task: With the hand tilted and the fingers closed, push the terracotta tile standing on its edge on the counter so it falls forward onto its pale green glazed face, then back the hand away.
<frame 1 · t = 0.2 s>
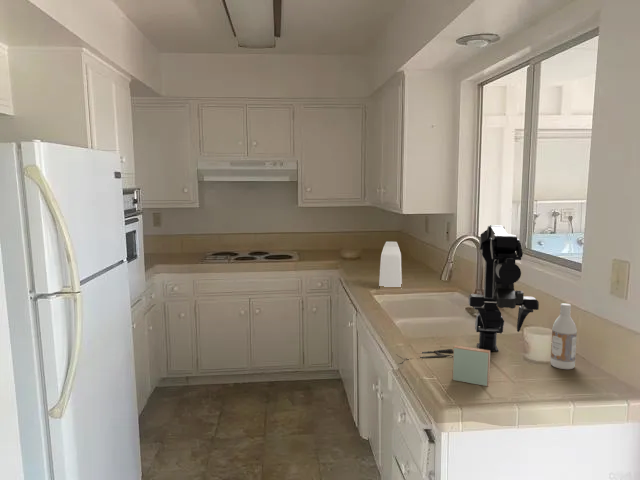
hand: (501, 330, 144), 15 cm above the worktop, tool pointing down, fingers open, 9 cm apart
tile: (470, 381, 143), on the worktop
milk: (390, 288, 275), on the worktop
bath foam: (562, 366, 156), on the worktop
hacksaw: (424, 359, 163), on the worktop
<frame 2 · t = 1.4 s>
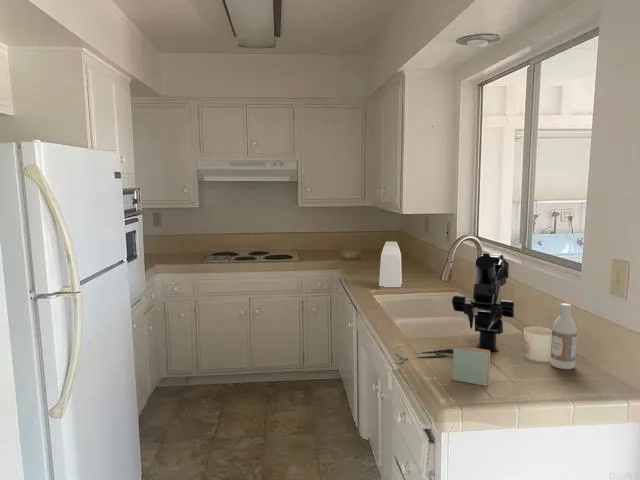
hand: (479, 329, 152), 13 cm above the worktop, tool tilted 45°, fingers open, 5 cm apart
nothing on the worktop moved.
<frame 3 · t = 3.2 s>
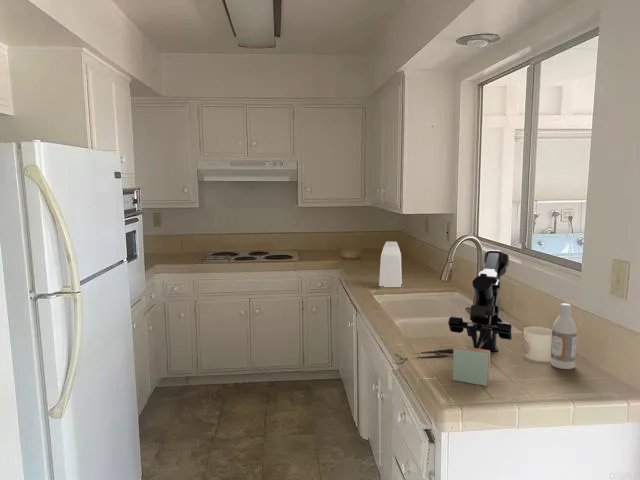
hand: (475, 351, 149), 7 cm above the worktop, tool tilted 45°, fingers closed
nothing on the worktop moved.
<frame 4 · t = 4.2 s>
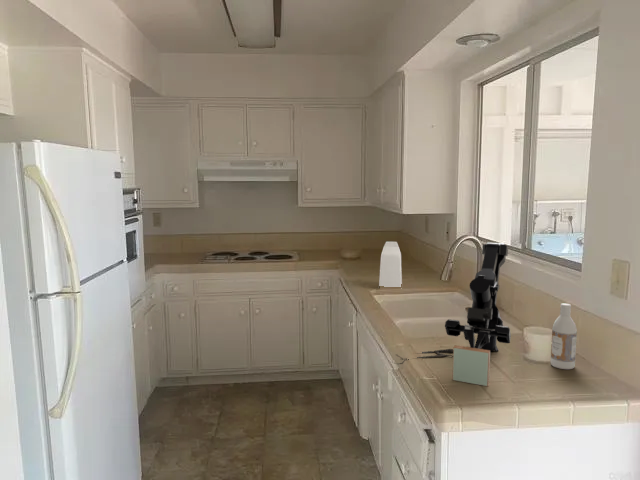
hand: (473, 355, 145), 7 cm above the worktop, tool tilted 45°, fingers closed
nothing on the worktop moved.
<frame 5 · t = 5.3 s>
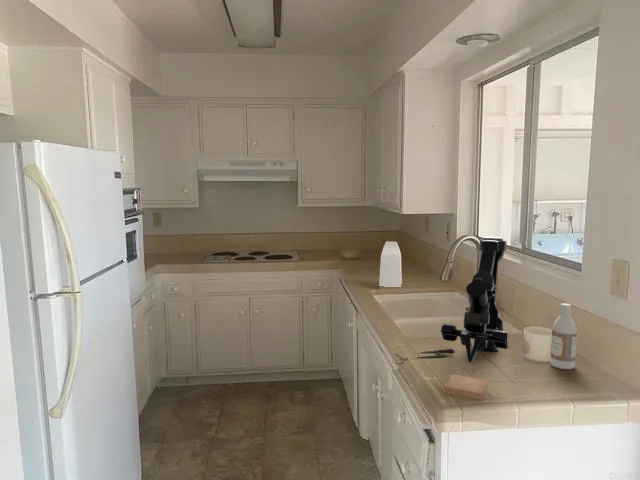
hand: (469, 361, 140), 7 cm above the worktop, tool tilted 45°, fingers closed
tile: (469, 380, 142), point 1 cm above the worktop, tilted 90°
everything else where it was.
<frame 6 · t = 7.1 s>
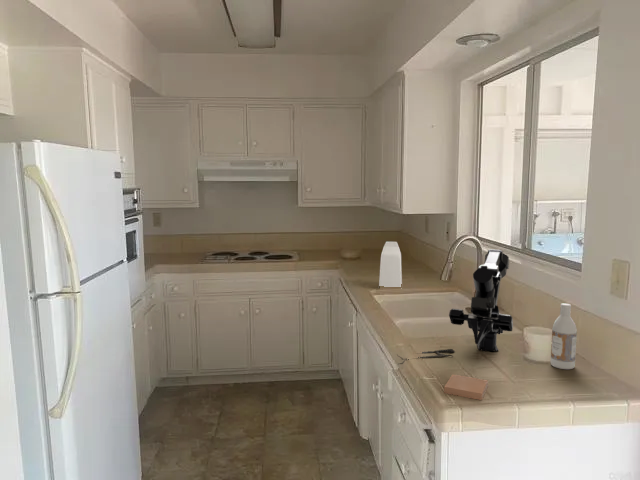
hand: (476, 343, 149), 9 cm above the worktop, tool tilted 45°, fingers closed
nothing on the worktop moved.
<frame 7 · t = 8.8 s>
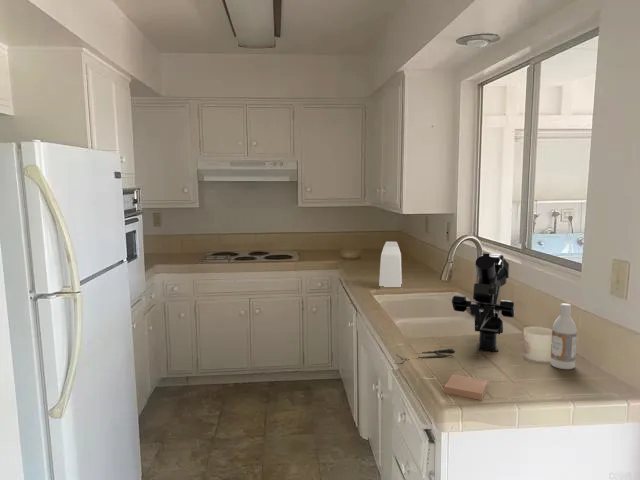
hand: (479, 329, 152), 13 cm above the worktop, tool tilted 45°, fingers closed
nothing on the worktop moved.
at the end: tile tilted 90°; tile inside the target area (1.8 cm from its centre), point 0.8 cm above the worktop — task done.
